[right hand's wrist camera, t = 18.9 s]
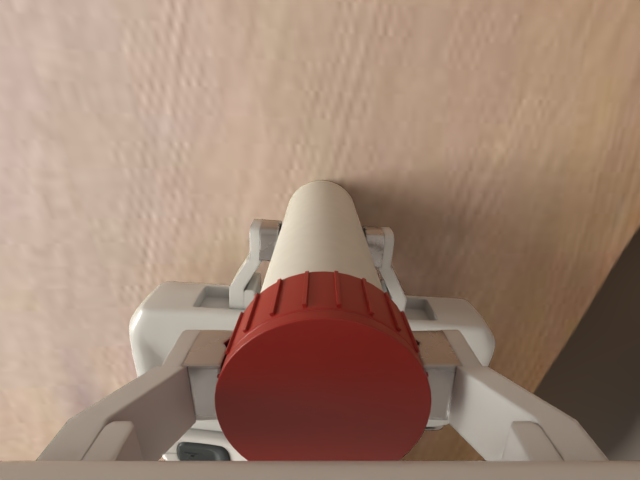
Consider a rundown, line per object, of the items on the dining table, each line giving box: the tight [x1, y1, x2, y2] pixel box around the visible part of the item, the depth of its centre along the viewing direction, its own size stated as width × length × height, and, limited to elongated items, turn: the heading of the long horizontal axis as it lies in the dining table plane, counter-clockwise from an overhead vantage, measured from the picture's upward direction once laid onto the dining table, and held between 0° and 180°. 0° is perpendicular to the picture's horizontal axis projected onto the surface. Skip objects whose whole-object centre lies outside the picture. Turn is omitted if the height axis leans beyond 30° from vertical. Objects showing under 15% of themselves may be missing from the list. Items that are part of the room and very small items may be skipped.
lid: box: [214, 271, 432, 461], centre depth 9 cm, size 5×5×2 cm
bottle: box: [260, 180, 383, 293], centre depth 16 cm, size 4×4×16 cm
